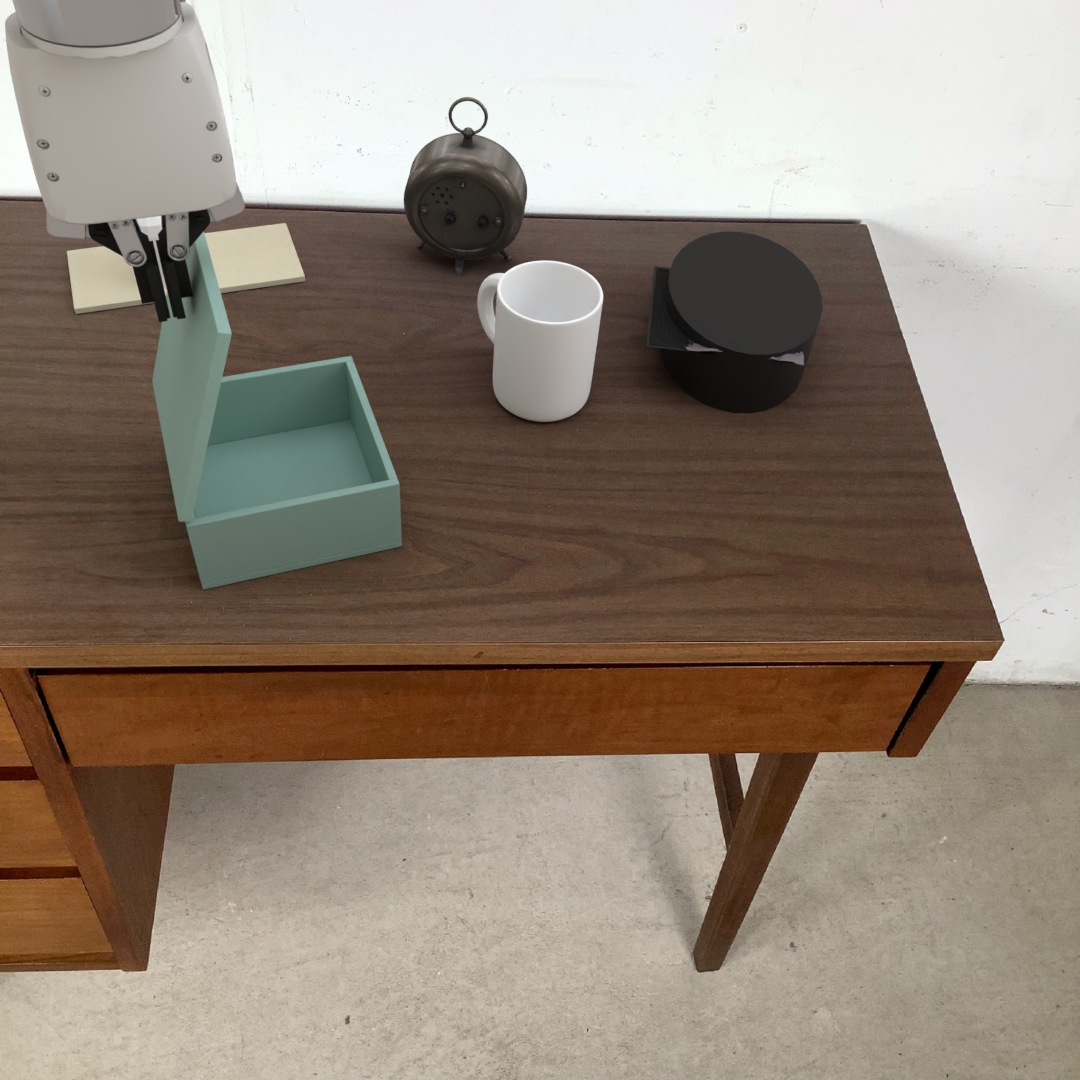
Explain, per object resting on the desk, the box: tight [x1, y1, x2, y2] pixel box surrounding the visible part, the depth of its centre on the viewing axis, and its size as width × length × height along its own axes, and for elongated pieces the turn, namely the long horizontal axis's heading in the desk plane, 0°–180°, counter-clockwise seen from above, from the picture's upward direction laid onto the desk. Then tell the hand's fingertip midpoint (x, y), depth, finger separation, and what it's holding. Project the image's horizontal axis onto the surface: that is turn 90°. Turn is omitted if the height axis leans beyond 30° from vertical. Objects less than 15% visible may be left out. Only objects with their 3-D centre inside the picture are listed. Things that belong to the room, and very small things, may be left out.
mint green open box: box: [184, 355, 403, 590], centre depth 78 cm, size 14×14×7 cm
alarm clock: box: [403, 96, 528, 275], centre depth 96 cm, size 11×5×16 cm, turn 84°
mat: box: [66, 222, 306, 315], centre depth 98 cm, size 20×9×1 cm, turn 110°
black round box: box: [645, 230, 823, 414], centre depth 94 cm, size 14×18×8 cm
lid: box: [151, 231, 233, 523], centre depth 68 cm, size 15×14×1 cm
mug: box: [476, 260, 604, 423], centre depth 87 cm, size 12×8×10 cm
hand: (169, 306), depth 65 cm, fingers closed
